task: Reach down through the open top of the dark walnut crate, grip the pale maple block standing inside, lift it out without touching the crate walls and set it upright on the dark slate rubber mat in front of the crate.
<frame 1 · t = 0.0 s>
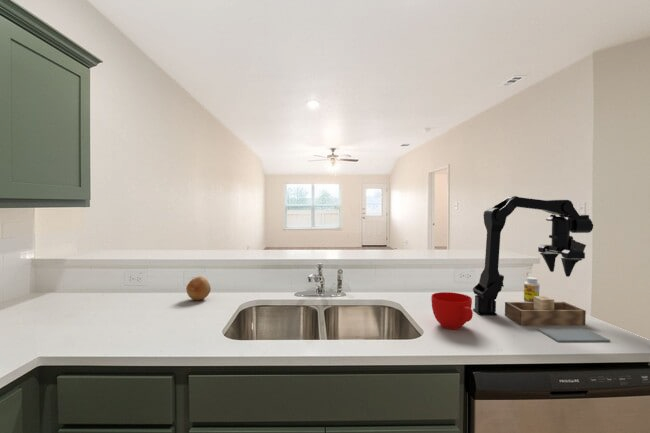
hand: (559, 274, 138), 15 cm above the counter, tool pointing down, fingers open, 9 cm apart
slate mat: (572, 335, 115), on the counter
maple block: (543, 309, 129), in the walnut crate
onion: (198, 300, 157), on the counter
walnut crate: (543, 320, 130), on the counter
ceramic cup: (454, 328, 122), on the counter
supplement bottle: (531, 302, 153), on the counter
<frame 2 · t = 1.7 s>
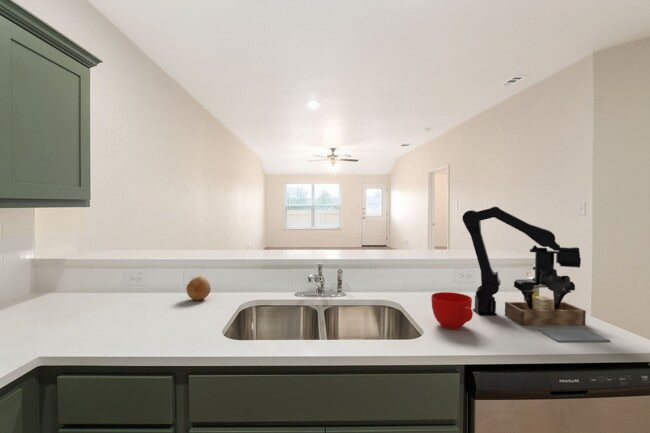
hand: (543, 308, 129), 4 cm above the counter, tool pointing down, fingers open, 9 cm apart
nothing on the counter moved.
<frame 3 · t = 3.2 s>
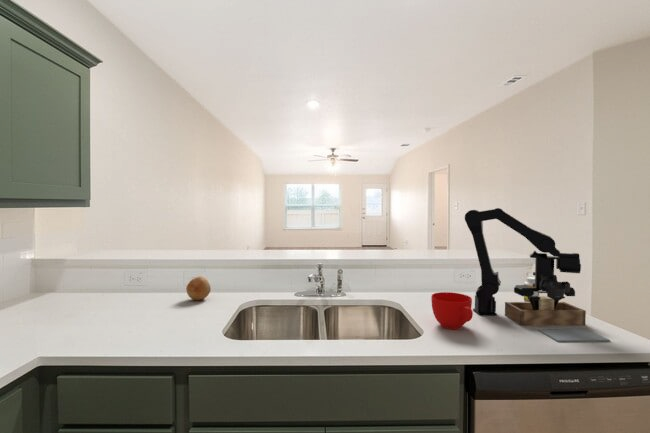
hand: (543, 314, 129), 2 cm above the counter, tool pointing down, fingers closed on maple block, 4 cm apart
maple block: (543, 309, 129), in the walnut crate, touching gripper
everything else where it was.
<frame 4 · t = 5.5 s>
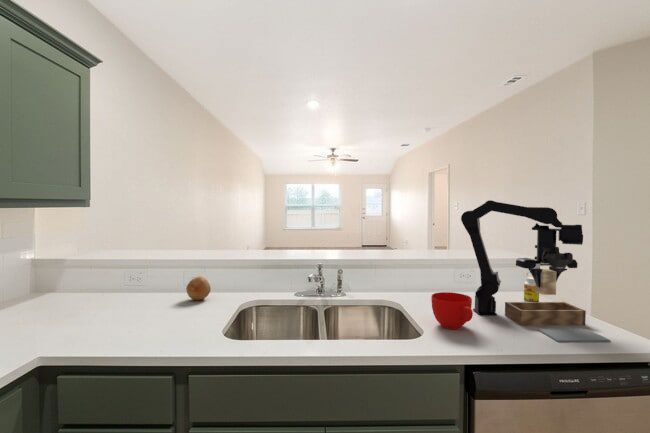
hand: (545, 287, 128), 12 cm above the counter, tool pointing down, fingers closed on maple block, 4 cm apart
maple block: (545, 281, 128), point 14 cm above the counter, touching gripper
everything else where it was.
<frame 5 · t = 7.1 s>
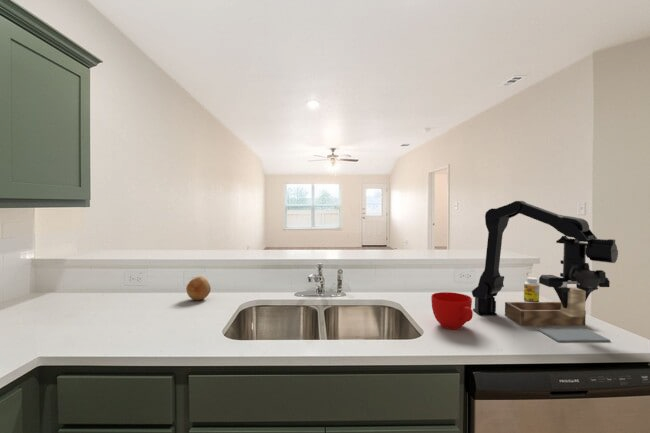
hand: (572, 308, 114), 9 cm above the counter, tool pointing down, fingers closed on maple block, 4 cm apart
maple block: (573, 301, 114), point 11 cm above the counter, touching gripper
everything else where it was.
when the fingers open (4 cm above the counter, at t = 8.2 s): maple block drops 1 cm, resting on slate mat.
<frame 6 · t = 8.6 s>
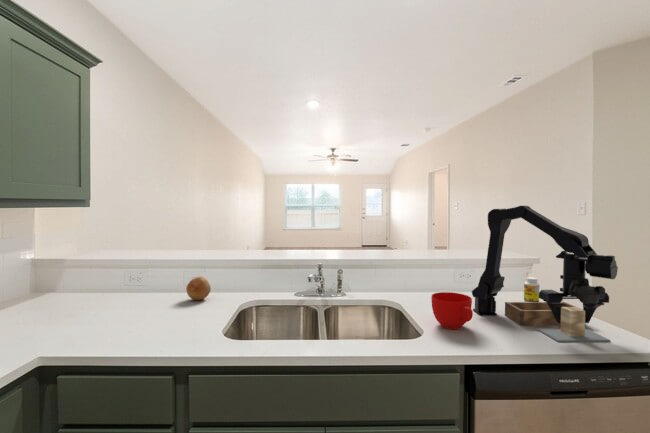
hand: (572, 323, 114), 4 cm above the counter, tool pointing down, fingers open, 9 cm apart
maple block: (572, 321, 114), on the slate mat
everything else where it was.
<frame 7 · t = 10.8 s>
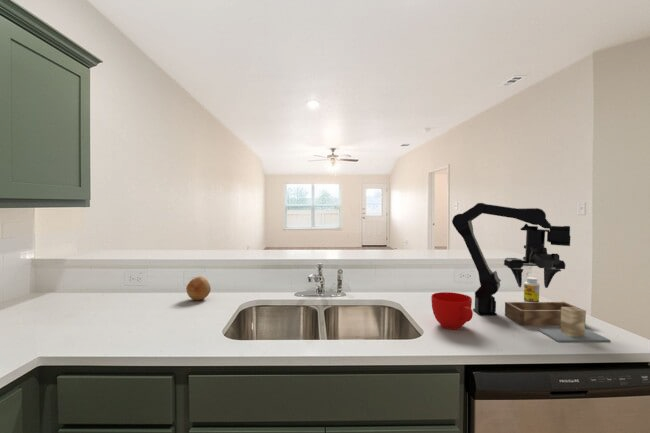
hand: (532, 287, 129), 12 cm above the counter, tool pointing down, fingers open, 9 cm apart
nothing on the counter moved.
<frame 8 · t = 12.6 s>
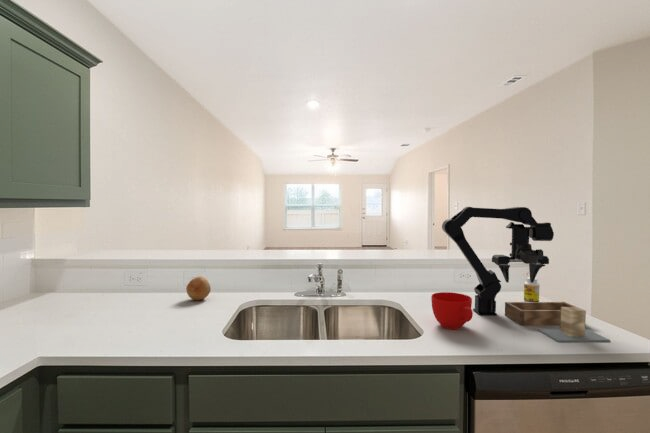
hand: (519, 282, 136), 12 cm above the counter, tool pointing down, fingers open, 9 cm apart
nothing on the counter moved.
at the end: maple block inside the target area on the slate mat (0.1 cm from its centre), point 4.5 cm above the slate mat's base; maple block tilted 0°; walnut crate moved 0.0 cm from its start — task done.
